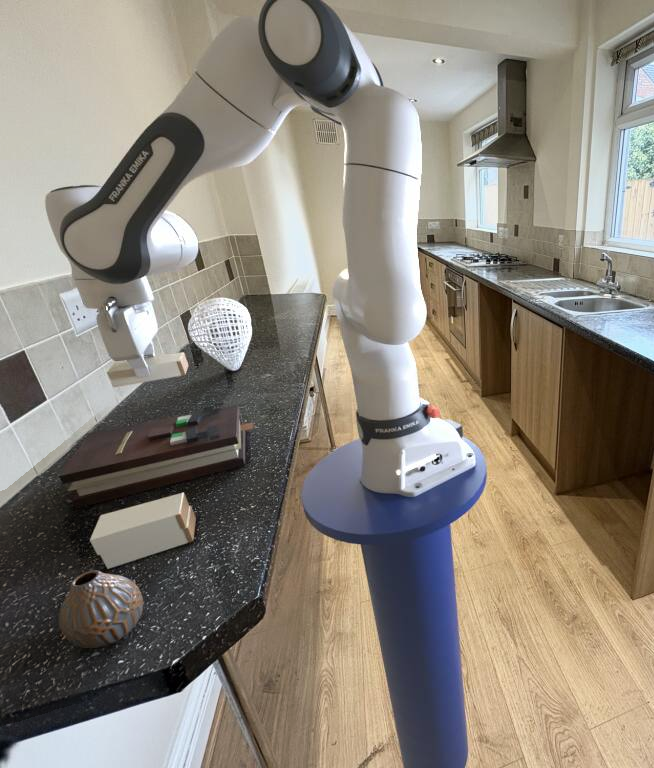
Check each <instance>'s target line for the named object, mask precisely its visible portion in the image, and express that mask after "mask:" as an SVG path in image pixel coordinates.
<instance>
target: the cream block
mask: <svg viewBox="0 0 654 768" xmlns="http://www.w3.org/2000/svg"><path fill="white" fill-rule="evenodd" d="M144 360H145V362H146V364H148V366H149V369H150V371H151V372H150V375H149V376H148V377H143V378H138V377H136V375H135V372H134V370H133V368H132V367H131V366H130V365H129V364H128V362H127V361H126V360H124V361H115V362H114V363H113V364H112V366H110V368H109V369H108V371H107V372H106V375H107V377H108V379H109V381H110V383H111V386H112V388H119V387H125V386H130V385H135V384H136V385H137V384H141V383H147V382H154V381H159V380H165V379H170V378H176V377H183V376H186V374H187V372H188V368H189V363H188V360H187V356H186V354H185V352H183V351H182V352H175V353H169V354H163V355H155V357H148V358H144Z"/></svg>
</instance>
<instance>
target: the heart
mask: <svg viewBox="0 0 654 768" xmlns="http://www.w3.org/2000/svg"><path fill="white" fill-rule="evenodd" d="M223 309H224V310H223ZM206 315H207V316H206ZM234 315H235V316H234ZM201 316H202V318H201ZM208 320H209V322H208ZM203 321H204V322H203ZM226 321H227V322H226ZM231 321H232V322H231ZM235 321H236V322H235ZM213 323H214V324H213ZM232 327H233V329H232ZM236 327H237V328H236ZM220 328H221V329H220ZM228 329H229V330H228ZM211 330H212V332H211ZM215 330H217V331H215ZM187 332H188V334H189V338H190V339H191V341H192V342H193V343H194V344H195V345H196V346H197V347H198V348H199V349H201V350H202V351H203V352H205V354H207V355H209V356H210V357H211V358H213V359H214V360H216V361H217V362H218V363H219V364H220V365H222V366H223V367H224V368H225V369H227V370H229V371H232V372H234V371H238V370H239V369H240V368H241V366H242V364H243V361H244V359H245V356H246V354H247V351H248V349H249V346H250V342H251V340H252V335H253V327H252V318H251V314H250V312H249V310H248V308H247V307H246V306H244V305H243V304H242V303H241V302H239V301H237V300H234V299H232V298H227V297H214V298H209V299H205V300H203V301H202V302H200V303H199V304H197V305H196V307H195V308H194V310H193V311H192V315H191V317H190V319H189V321H188V324H187ZM234 333H235V335H234ZM229 334H230V335H229ZM212 335H213V336H214V337H213V336H212ZM217 335H218V337H217ZM214 344H216V345H214ZM219 344H220V345H219ZM232 347H233V348H232Z"/></svg>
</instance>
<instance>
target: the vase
mask: <svg viewBox="0 0 654 768" xmlns="http://www.w3.org/2000/svg"><path fill="white" fill-rule="evenodd" d="M143 611H144V598H143V594H142V592H141V590H140V588H139V586H138V585H137V584H136V583H135V582H134V581H132V580H131V579H129V578H128V577H125V576H124V575H119V574H113V573H104V572H102V571H100V570H97V569H93V570H89V571H85V572H83V573H81V574H79V575H78V576H76V577H74V579H73V580H72V581H71V583H70V586H69V591H68V593H67V595H66V596H65V598H64V600H63V602H62V604H61V606H60V609H59V612H58V624H59V629H60V631H61V633H62V635H63V636H64V638H65V639H66V640H67V641H69V642H70V643H71V644H72V645H75V646H76V647H80V648H85V649H97V648H101V647H102V648H103V647H105V646H109V645H111V644H115V643H116V642H118V641H119V640H122V638H124V637H125V636H127V635H128V634H129V633H130V632H131V631H132V630H133V629H134V627H135V626H136V625H137V623H138V622H139V621H140V618H141V617H142V614H143Z"/></svg>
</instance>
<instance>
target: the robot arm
mask: <svg viewBox="0 0 654 768" xmlns="http://www.w3.org/2000/svg"><path fill="white" fill-rule="evenodd" d="M299 106H309V107H310V109H311V110H312V111H313V113H315V114H318V115H319V116H322V117H324V118H326V119H328V120H330V121H331V122H333V123H335V124H337V125H339V126H342V129H343V130H342V131H343V134H344V160H343V188H342V189H343V190H342V220H341V223H342V228H343V232H344V239H345V248H346V259H347V260H346V261H347V267H346V268H344V269H343V270H342V271H341V272H340V273H339V274H338V275H337V276H336V278H335V279H334V282H333V285H332V293H331V294H332V301H333V304H334V310H335V313H336V318H337V322H338V326H339V327H338V328H339V331H340V336H341V339H342V342H343V347H344V350H345V354H346V358H347V360H348V364H349V367H350V372H351V378H352V384H353V390H354V394H355V402H356V407H357V408H356V411H355V416H356V420H355V422H356V427H357V428H356V429H357V433H358V437H359V438H360V440H361V441H362V467H361V473H360V481H361V483H362V484H363V486H365V487H366V488H367V489H369V490H371V491H374V492H378V493H390V494H400V495H403V496H406V497H415V496H417V495H419V494H421V493H423V492H425V491H427V490H429V489H431V488H433V487H435V486H437V485H439V484H441V483H443V482H445V481H447V480H449V479H451V478H453V477H455V476H457V475H459V474H461V473H463V472H465V471H467V470H469V469H471V468H472V467H474V466H475V464H476V459H475V455H474V452H473V451H472V449H471V448H470V447H469V446H468V445H467V444H466V443H465V442H464V441H463V440H461V438H462V437H464V434H463V433H464V432H463V425H462V424H459V423H458V422H456V421H453V420H451V419H448V418H446V419H442V418H439V416H440V415H441V414H440V413H441V411H440V410H439V408H437V406H435V405H431V403H430V402H429V401H427V400H426V399H424V398H422V396H420V389H419V387H420V386H419V379H418V378H419V377H418V369H417V367H418V366H417V362H416V360H415V358H414V355H413V353H412V349H411V347H410V344H409V342H411V341H413V340H414V339H415V338H416V337H418V335H420V333H421V332H422V330H423V329H424V327H425V324H426V322H427V316H428V315H427V314H428V312H427V304H426V302H425V299H424V296H423V293H422V288H421V274H420V264H419V256H418V242H417V227H418V214H419V213H418V212H419V200H420V186H421V178H422V177H421V175H422V141H421V127H420V117H419V114H418V111H417V109H416V107H415V106H414V104H413V103H412V102H411V101H410V99H408V97H406V96H405V95H404V94H402V93H401V92H399V91H397V90H396V89H393V88H390V87H386V86H385V85H384V81H383V79H382V76H381V74H380V72H379V70H378V68H377V66H376V64H375V63H373V61H372V60H371V58H370V57H369V55H368V53H367V52H366V50H365V48H364V46H363V44H362V43H361V42H360V40H359V39H358V38H357V36H356V35H355V34H354V33H353V31H352V30H351V29H350V28H349V27H348V25H346V24H345V23H344V22H343V21H342V20H341V18H340V17H339V15H338V14H337V13H336V11H335V10H334V9H333V8H332V7H330V5H328V4H327V2H325V1H323V0H266V1H265V2H264V4H263V6H262V8H261V9H260V13H259V17H258V19H257V18H254V17H252V16H248V15H239V16H237V17H235V18H233V19H232V20H230V21H229V22H228V24H226V26H225V27H223V29H222V30H221V31H220V32H219V33H218V34H217V35H216V37H214V39H213V40H212V41H211V43H210V44H209V45H208V46H207V48H206V49H205V50H204V51H203V54H201V57H200V58H199V59H198V61H197V63H196V65H195V67H194V69H193V70H192V72H191V74H190V75H189V76H188V78H187V80H186V82H185V83H184V85H183V87H182V88H181V89H180V91H179V92H178V94H177V95H176V96H175V98H174V99H173V100H172V102H171V103H170V104H169V105H168V106H167V107H166V108H165V110H163V111H162V113H161V114H159V116H157V117H156V118H155V119H154V120H153V121H152V122H151V123H150V124H149V125H147V127H146V128H145V129H144V130H143V131H142V133H141V134H140V135H139V136H138V138H137V139H136V140H135V141H134V143H132V145H131V146H130V148H129V149H128V151H127V152H126V153H125V155H124V156H123V157H122V159H121V160H120V161H119V163H118V164H117V165H116V167H115V168H114V169H113V171H112V172H111V174H110V175H109V177H108V178H107V180H106V181H105V182H104V183H103V185H102V186H100V185H96V184H95V185H93V184H81V185H80V184H79V185H70V186H69V185H68V186H63V187H59V188H55V189H52V190H50V191H49V192H48V193H47V194H46V195H45V199H44V203H45V204H44V205H45V211H46V215H47V220H48V222H49V225H50V228H51V231H52V233H53V236H54V238H55V241H56V243H57V245H58V247H59V249H60V252H61V253H62V254H63V255H64V256H65V257H66V259H67V260H68V262H69V265H70V267H71V277H72V280H73V282H74V285H75V287H76V289H77V292H78V293H79V296H80V298H81V300H82V303H83V304H84V307H85V308H86V309H90V310H92V309H94V310H97V312H98V313H97V314H96V316H95V317H96V318H95V319H96V324H97V327H98V331H99V333H100V336H101V339H102V342H103V345H104V347H105V349H106V352H107V354H108V357H110V359H111V360H112V361H113V362H122V361H127V362H128V364H129V365H130V366H131V367H132V368H133V370H134V372H135V375H136V377H138V378H143V377H148V376H149V375H150V372H151V371H150V369H149V366H148V364H146V362H145V360H144V358H148V357H155V356H156V354H155V353H156V352H155V346H154V342H153V339H154V337H155V336H156V334H157V333H158V331H159V330H158V329H159V327H158V322H157V317H156V313H155V309H154V306H153V303H152V301H154V300H155V297H154V293H153V291H152V287H151V284H150V283H149V281H148V278H147V277H148V276H152V275H158V274H163V273H167V272H172V271H175V270H179V269H180V270H181V269H183V268H186V267H187V266H189V265H191V264H193V263H194V262H195V260H196V259H197V258H198V256H199V252H200V243H199V239H198V236H197V234H196V232H195V230H194V229H193V227H192V226H191V224H190V223H189V222H188V221H187V220H186V219H184V218H183V217H182V216H180V215H179V214H177V213H175V212H173V211H168V209H169V207H170V206H171V204H173V202H174V201H175V199H176V198H177V196H178V195H179V194H180V192H181V191H182V190H183V189H184V188H185V187H186V186H187V185H188V184H190V183H192V182H193V181H195V180H197V179H198V178H201V177H203V176H205V175H209V174H211V173H215V172H219V171H223V170H228V169H234V168H239V167H243V166H246V165H248V164H250V163H252V162H253V161H254V160H255V159H257V157H258V156H259V155H260V154H262V152H264V150H266V148H267V147H268V146H269V144H270V143H271V141H272V140H273V139H274V136H275V135H276V134H277V132H278V130H279V128H280V126H281V125H282V123H283V122H284V120H285V118H286V117H287V116H288V114H289V113H290V112H291V111H292V110H293V109H294V108H296V107H299ZM359 438H358V439H359Z"/></svg>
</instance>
